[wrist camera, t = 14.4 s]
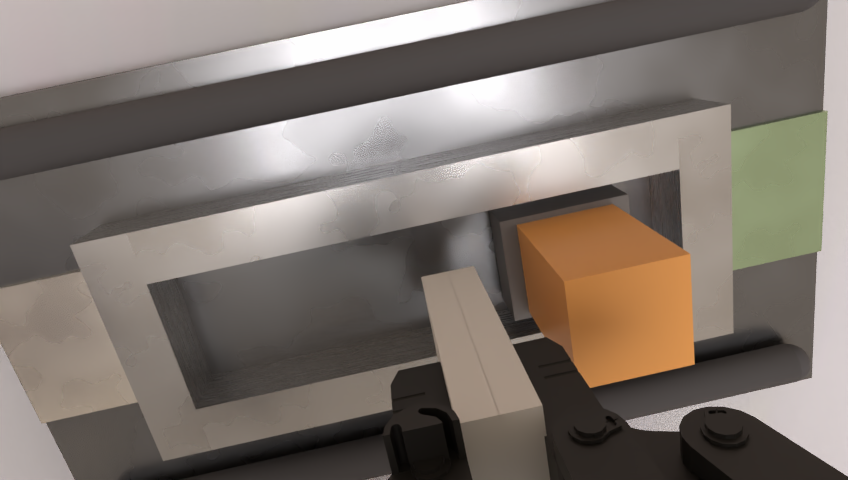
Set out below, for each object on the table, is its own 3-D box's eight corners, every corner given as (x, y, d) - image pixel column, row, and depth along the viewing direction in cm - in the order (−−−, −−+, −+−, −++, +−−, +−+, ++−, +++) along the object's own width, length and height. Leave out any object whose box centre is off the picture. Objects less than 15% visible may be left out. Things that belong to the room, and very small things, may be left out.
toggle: (503, 299, 20) (558, 401, 14) (488, 207, 19) (542, 278, 13) (614, 274, 20) (713, 366, 14) (606, 181, 19) (711, 240, 13)
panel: (117, 513, 23) (79, 585, 20) (-77, 114, 17) (-169, 129, 14) (790, 361, 23) (852, 408, 20) (801, -66, 18) (888, -89, 15)
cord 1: (117, 517, 21) (101, 548, 20) (103, 488, 21) (85, 518, 20) (792, 364, 22) (819, 384, 21) (793, 333, 22) (821, 352, 20)
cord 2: (-44, 187, 17) (-78, 199, 16) (-66, 141, 17) (-103, 149, 15) (802, 9, 18) (837, 6, 16) (804, -40, 17) (840, -47, 16)
